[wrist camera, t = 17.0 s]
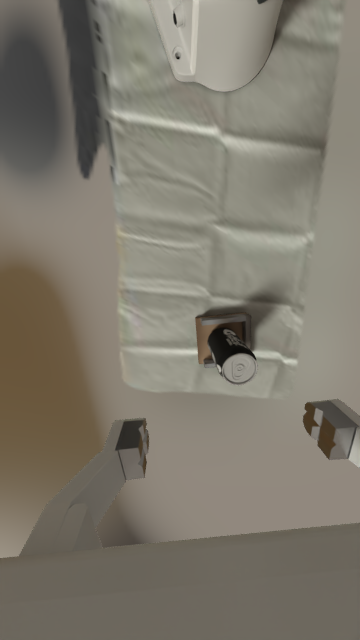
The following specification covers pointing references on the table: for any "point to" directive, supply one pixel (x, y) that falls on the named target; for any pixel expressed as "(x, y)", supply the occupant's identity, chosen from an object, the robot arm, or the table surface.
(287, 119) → the table surface
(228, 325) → the brown flat square tray
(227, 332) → the beverage can
